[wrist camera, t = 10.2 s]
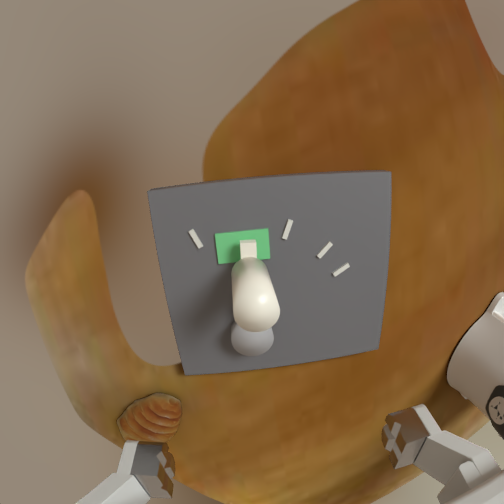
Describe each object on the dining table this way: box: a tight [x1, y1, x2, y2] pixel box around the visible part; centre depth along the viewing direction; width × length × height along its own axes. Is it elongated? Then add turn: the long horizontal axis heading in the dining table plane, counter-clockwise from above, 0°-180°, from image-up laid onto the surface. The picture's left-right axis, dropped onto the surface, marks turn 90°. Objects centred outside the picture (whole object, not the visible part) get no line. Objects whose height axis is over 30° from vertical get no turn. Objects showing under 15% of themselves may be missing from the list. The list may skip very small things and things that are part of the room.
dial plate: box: [147, 170, 391, 375], centre depth 27 cm, size 20×18×2 cm
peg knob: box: [231, 239, 280, 356], centre depth 23 cm, size 10×4×7 cm, turn 2°
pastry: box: [117, 393, 182, 442], centre depth 31 cm, size 9×7×4 cm
